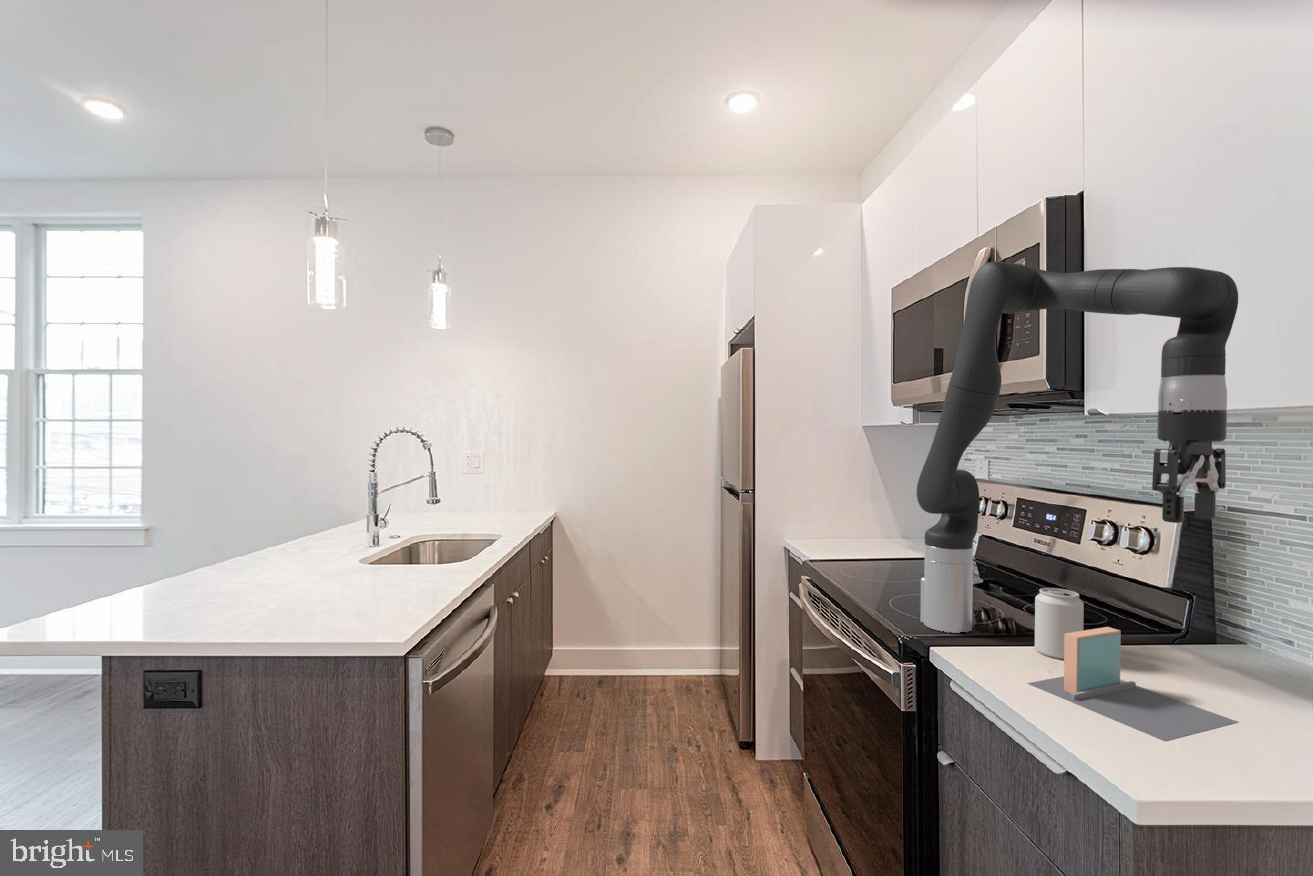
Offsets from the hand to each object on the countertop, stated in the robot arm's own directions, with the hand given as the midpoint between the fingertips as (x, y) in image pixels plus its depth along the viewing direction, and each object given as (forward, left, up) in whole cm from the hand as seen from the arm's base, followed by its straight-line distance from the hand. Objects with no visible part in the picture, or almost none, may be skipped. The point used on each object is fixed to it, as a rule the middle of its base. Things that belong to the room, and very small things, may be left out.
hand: (1188, 520), depth 89 cm
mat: (-6, -4, -28) cm, 29 cm away
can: (-24, +6, -29) cm, 38 cm away
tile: (-11, -4, -28) cm, 30 cm away
